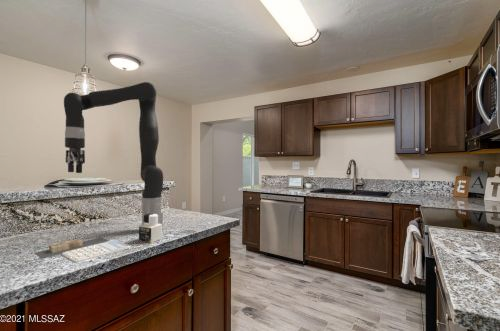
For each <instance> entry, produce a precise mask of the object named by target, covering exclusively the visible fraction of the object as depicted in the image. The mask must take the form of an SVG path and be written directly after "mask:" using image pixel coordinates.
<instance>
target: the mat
mask: <svg viewBox="0 0 500 331" xmlns="http://www.w3.org/2000/svg"><path fill="white" fill-rule="evenodd" d="M82 241H83V240H82ZM108 241H110V240H109V239H106V238H104V237H97V238H93V239H88V240H85V241H83V246H80V247H76V248H72V249H67V250H63V251H59V252H55V253H52V252H51V251H49V249H45V250H41V251H38V252H33V254H34V255H36V256H38V258H40V259H46V258H50V257H55V256H58V255H62V253H63V252H66V251H71V250H75V249H79V248H83V247H87V246H91V245H95V244H99V243H103V242H108Z"/></svg>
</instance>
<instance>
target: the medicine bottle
mask: <svg viewBox="0 0 500 331" xmlns="http://www.w3.org/2000/svg"><path fill="white" fill-rule="evenodd" d="M160 240H163V229H162V224H158V215H157V214H154V213H150V214H146V215H144V225H142V224H141V225H139V226H138V241H139V242H145V243H149V244H151V245H152V244H153V243H156V242H158V241H160Z"/></svg>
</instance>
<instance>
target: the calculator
mask: <svg viewBox="0 0 500 331" xmlns="http://www.w3.org/2000/svg"><path fill="white" fill-rule="evenodd" d="M129 248H130V245H129V244H127V243H124V242H121V241H119V240H115V239H113V240H109V241H108V242H103V243H99V244H95V245H91V246H87V247H83V248H79V249H75V250H71V251H66V252H63V253H62V254H61V256H63V257H65V258H67V259H68V260H70V261H71V262H73V263H79V262H80V263H81V262H83V261H86V260H91V259H94V258H96V257H101V256H103V255H104V256H105V255H107V254H112V253H116V254H117V253H118V252H120V251H123V252H124V251H125V250H127V249H129Z"/></svg>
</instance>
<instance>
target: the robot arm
mask: <svg viewBox="0 0 500 331" xmlns="http://www.w3.org/2000/svg"><path fill="white" fill-rule="evenodd" d="M135 100H138V104H139V105H138V106H139V112H140V113H139V114H140V115H139V123H138V134H139V136H138V137H139V145H140V147H139V148H140V179H141V180H142V181H143V182H144V185H143V186H144V189H143V191H142V193H141V225H144V215H146V214H150V213H154V214H157V215H158V224H162V230H163V226H164V225H163V221H164V220H163V219H164V216H163V215H164V213H163V212H164V211H163V210H162V193H163V191H164V190H163V189H164V173H163V170H162V168H160V167H158V166H157V158H156V157H157V151H158V147H159V140H160V136H159V126H158V125H159V124H158V120H157V117H156V116H157V115H156V101H157V88H156V86H155V85H154V84H153V83H151V82H148V81H144V82H139V83H137V84H133V85H130V86H129V85H128V86H125V87H119V88H114V89H106V90H105V89H104V90H97V91H91V92H89V93H87V94H83V95H80V94H78V93H76V92H68V93H66V94H65V96H63V109H64V115H65V130H64V147H65V148H67V149H66V150H65V163H66V164H67V172H68V173H74V172H75V174H82V173H83V165H84V164H85V162H86V159H85V158H86V155H85V153H86V151H85V150H84V149H85V147H86V145H85V144H86V142H85V140H86V138H85V137H86V133H85V131H86V130H85V118H84V116H83V111H86V110H91V109H94V108H99V107H100V108H101V107H106V106H112V105H116V104H118V103H122V102H126V101H135Z"/></svg>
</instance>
